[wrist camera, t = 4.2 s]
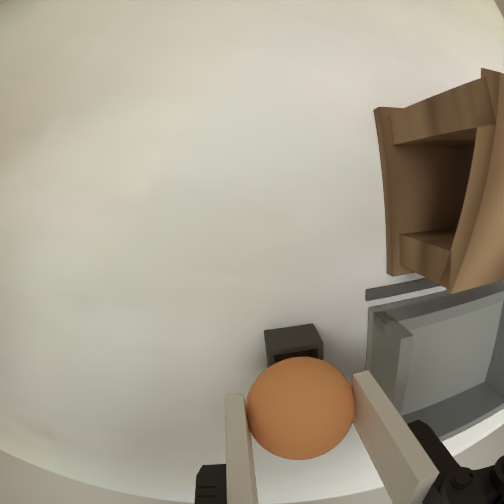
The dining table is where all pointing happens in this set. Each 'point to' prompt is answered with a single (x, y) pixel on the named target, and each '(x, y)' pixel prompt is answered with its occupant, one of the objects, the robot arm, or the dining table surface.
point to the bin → (441, 356)
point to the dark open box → (293, 342)
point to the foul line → (399, 289)
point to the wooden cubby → (446, 184)
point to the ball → (300, 408)
